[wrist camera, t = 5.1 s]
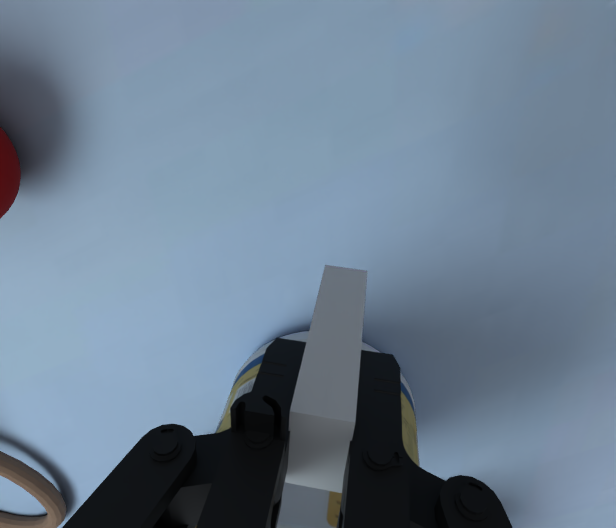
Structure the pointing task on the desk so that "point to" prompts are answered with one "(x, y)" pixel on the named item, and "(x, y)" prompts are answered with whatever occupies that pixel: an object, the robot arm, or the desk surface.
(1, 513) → the brown curved horn
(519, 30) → the desk surface
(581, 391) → the desk surface
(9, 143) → the christmas ornament
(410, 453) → the supplement tub
